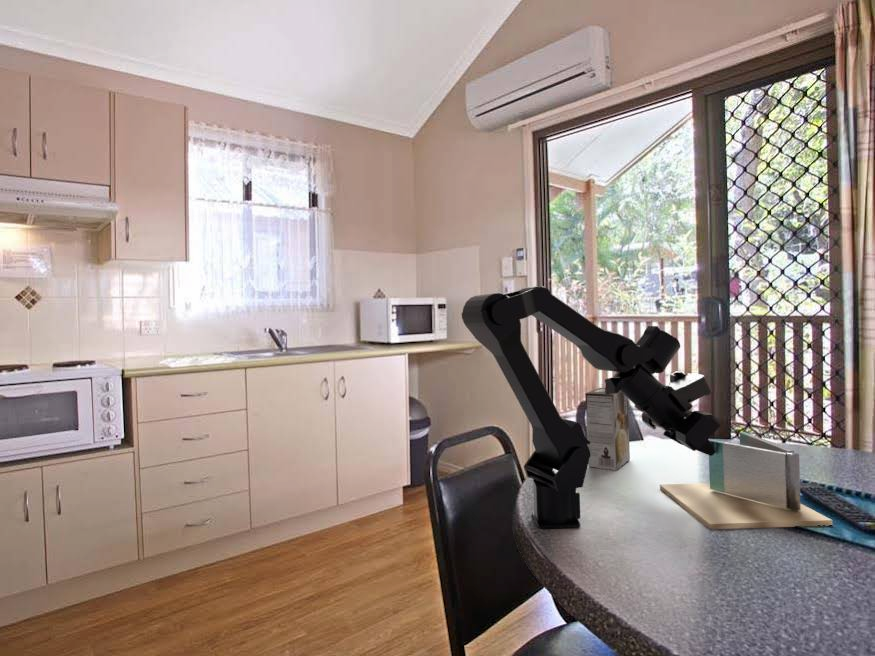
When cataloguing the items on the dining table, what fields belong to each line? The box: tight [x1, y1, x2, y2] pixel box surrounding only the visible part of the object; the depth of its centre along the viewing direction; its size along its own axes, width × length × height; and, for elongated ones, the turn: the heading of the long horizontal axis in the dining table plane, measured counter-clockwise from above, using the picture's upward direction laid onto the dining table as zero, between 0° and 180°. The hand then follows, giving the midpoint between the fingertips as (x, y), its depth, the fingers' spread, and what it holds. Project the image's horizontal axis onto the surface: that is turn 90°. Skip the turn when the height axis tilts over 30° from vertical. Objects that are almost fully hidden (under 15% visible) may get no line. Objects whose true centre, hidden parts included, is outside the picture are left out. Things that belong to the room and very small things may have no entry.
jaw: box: [708, 439, 802, 510], centre depth 84 cm, size 2×13×9 cm, turn 32°
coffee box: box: [585, 387, 631, 471], centre depth 111 cm, size 9×6×16 cm
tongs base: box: [659, 431, 834, 530], centre depth 85 cm, size 18×19×10 cm
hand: (712, 453), depth 88 cm, fingers closed
